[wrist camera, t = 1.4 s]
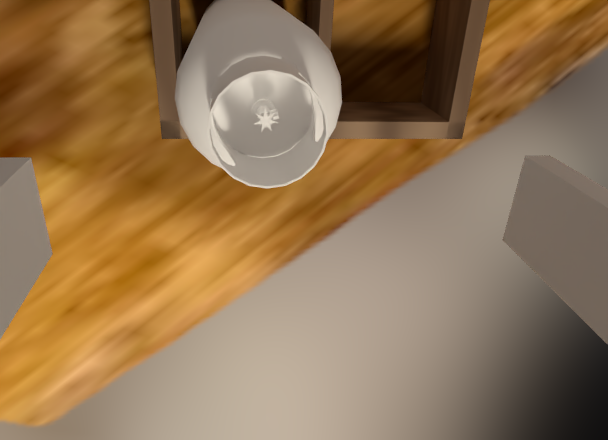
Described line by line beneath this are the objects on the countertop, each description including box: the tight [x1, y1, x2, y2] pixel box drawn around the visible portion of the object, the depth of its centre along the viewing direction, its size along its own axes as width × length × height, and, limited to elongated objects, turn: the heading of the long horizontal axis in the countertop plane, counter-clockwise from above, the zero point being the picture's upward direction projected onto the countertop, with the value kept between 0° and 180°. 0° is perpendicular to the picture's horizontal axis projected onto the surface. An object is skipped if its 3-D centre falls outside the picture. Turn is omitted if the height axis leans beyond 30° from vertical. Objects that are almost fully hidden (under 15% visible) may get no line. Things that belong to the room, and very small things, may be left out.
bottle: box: [175, 0, 342, 188], centre depth 31 cm, size 8×8×28 cm
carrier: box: [149, 0, 490, 139], centre depth 41 cm, size 26×14×7 cm, turn 88°
